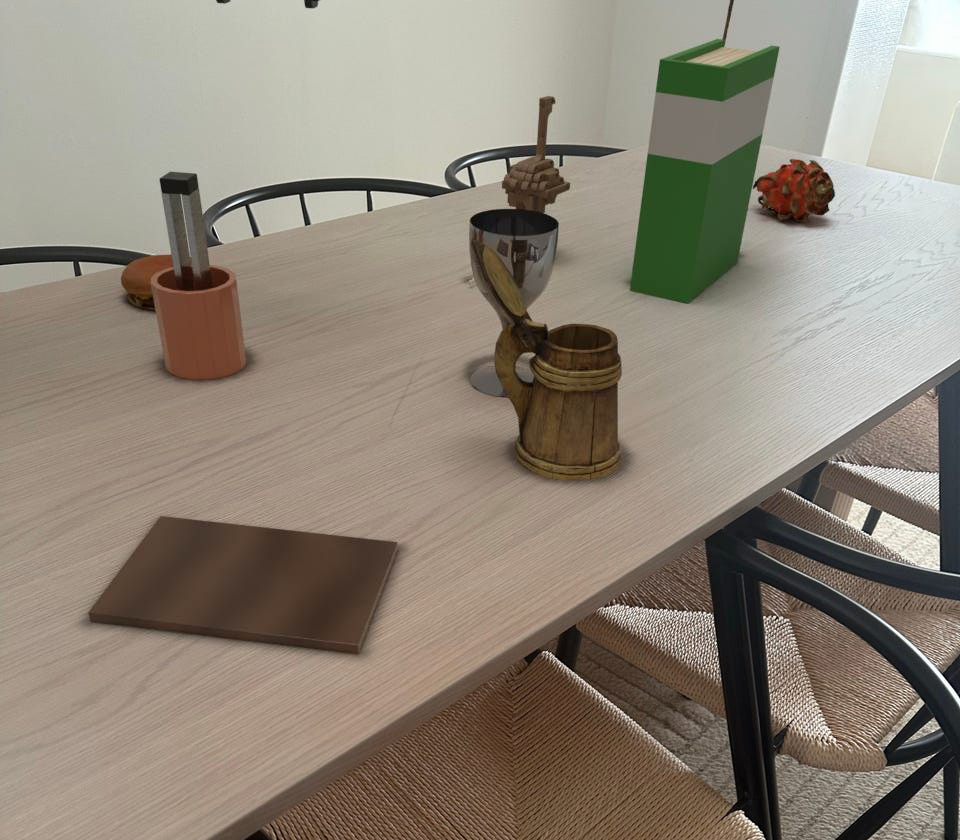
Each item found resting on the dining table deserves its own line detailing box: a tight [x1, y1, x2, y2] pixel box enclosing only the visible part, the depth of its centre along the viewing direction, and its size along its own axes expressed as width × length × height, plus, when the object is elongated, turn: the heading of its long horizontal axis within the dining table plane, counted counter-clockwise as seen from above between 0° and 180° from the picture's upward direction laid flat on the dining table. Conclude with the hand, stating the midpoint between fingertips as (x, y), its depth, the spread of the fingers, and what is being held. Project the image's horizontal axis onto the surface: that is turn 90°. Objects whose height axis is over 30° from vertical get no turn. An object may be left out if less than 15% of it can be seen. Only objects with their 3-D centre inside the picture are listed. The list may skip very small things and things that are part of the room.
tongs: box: [159, 171, 213, 291], centre depth 91 cm, size 2×2×17 cm
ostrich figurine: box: [467, 95, 571, 287], centre depth 116 cm, size 17×7×18 cm, turn 145°
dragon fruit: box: [752, 158, 836, 223], centre depth 140 cm, size 8×8×12 cm
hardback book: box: [629, 38, 781, 304], centre depth 115 cm, size 18×7×24 cm, turn 150°
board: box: [87, 515, 398, 655], centre depth 68 cm, size 18×12×2 cm, turn 82°
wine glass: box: [468, 208, 560, 398], centre depth 92 cm, size 8×8×15 cm
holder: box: [151, 264, 247, 381], centre depth 94 cm, size 8×8×9 cm
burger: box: [120, 253, 192, 311], centre depth 108 cm, size 10×9×5 cm
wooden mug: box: [468, 239, 623, 481], centre depth 79 cm, size 9×14×18 cm, turn 81°
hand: (267, 5), depth 93 cm, fingers open, 8 cm apart
